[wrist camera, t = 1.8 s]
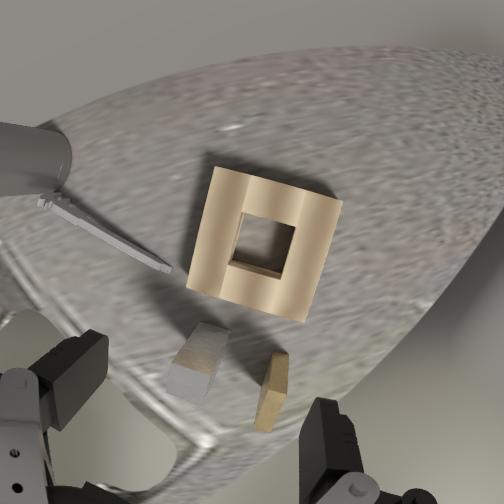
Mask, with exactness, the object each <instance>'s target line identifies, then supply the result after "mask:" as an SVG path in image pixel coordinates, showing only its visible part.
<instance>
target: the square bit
mask: <svg viewBox="0 0 504 504" xmlns="http://www.w3.org/2000/svg"><path fill="white" fill-rule="evenodd" d="M229 334H230V330H227V329H224V328H220V327H217V326H214V325H211V324H208V323H205V322H202V321H200V323H199V324H198V325H197V327H196V328H195V330H194V331H193V332H192V334H191V335H190V337H189V338H188V340H187V341H186V342H185V344H184V345H183V347H182V348H181V349H180V351H179V352H178V354H177V355H176V356H175V358H174V359H173V361H172V362H171V367H170V372H169V378H168V384H167V390H166V393H169V394H172V395H174V396H177V397H180V398H183V399H185V400H188V401H191V402H194V403H197V404H200V405H203V403H204V400H205V398H206V396H207V393H208V391H209V389H210V386H211V384H212V382H213V380H214V377H215V375H216V373H217V370H218V368H219V366H220V363H221V361H222V359H223V356H224V353H225V349H226V345H227V342H228V338H229Z"/></svg>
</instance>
